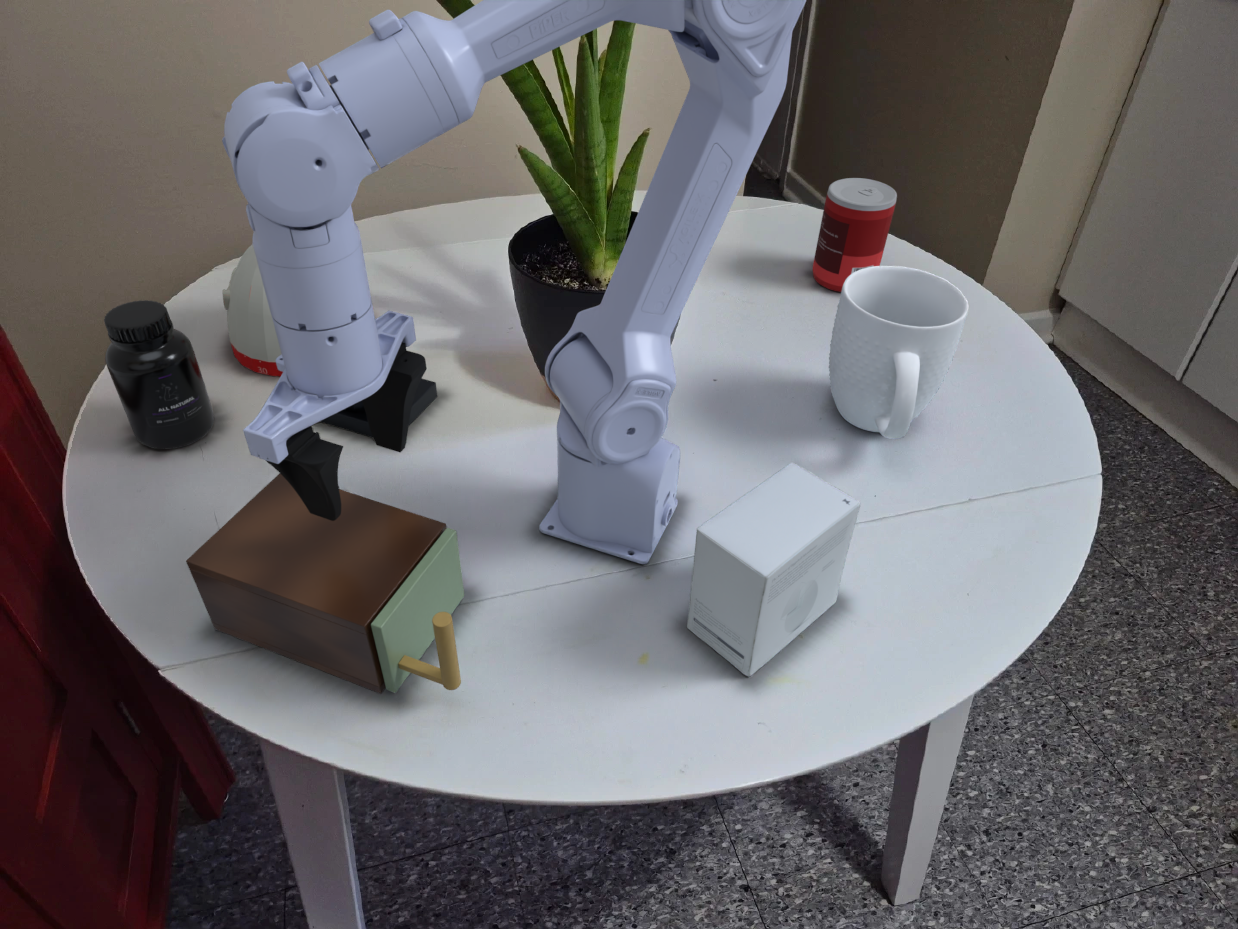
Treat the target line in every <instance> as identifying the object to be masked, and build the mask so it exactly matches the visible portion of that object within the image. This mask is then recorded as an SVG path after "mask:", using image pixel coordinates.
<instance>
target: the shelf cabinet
mask: <svg viewBox="0 0 1238 929" xmlns="http://www.w3.org/2000/svg"><path fill="white" fill-rule="evenodd" d="M339 492H340V498H341V515H340V516H339V517H338V518H337V519H336V520H335V521H331V520H328V519H325V518H323V517H320V516H317V515H314V514H311V513H310V512H309V510H308V509H307V507H306V506H305V504H304V503H303V501H302V500H301V498H300V497H299V495H298V494H297V492H296V491H295V490H294V488H293V487H292V486H291V485H290V483H289V482H288V481H287V480H286V479H285V478H284V477H283V476H282V475H281V474H280V473H279V472H278V474H277V475H276V476H275V477H273V479H272V480H271V481H269V483H268V484H266V485H265V486H264V487H263V488H262V489H261V490H260V491H258V493H257V494H256V495H254V496H253V497H252V499H250V500H249V501H248V502H247V503H246V504H245V505H244V506H243V507H241V508H240V510H238V511H237V512H236V513H235V514H234V515H233V516H232V517H231V518H230V519H229V520H228V521H226V523H224V524H223V525H222V526H221V527H220V528H219V529H218V530H217V531H216V532H215V533H214V534H212V536H211V537H209V538H208V539H207V540H206V541H205V542H204V543H203V544H202V545H201V546H200V547H199V548H197V549H196V550H195V551H194V552H193V553H192V554H191V555H190V556H189V557H188V558H187V559H185V562H186V565H187V568H188V570H189V572H190V575H191V577H192V579H193V582H194V584H195V586H196V588H197V591H198V593H199V596H200V598H201V600H202V603H203V606H204V607H205V609H206V612H207V614H208V617H209V619H210V622H211V624H212V626H213V628H214V630H216V631H219V632H222V633H224V634H227V635H229V636H231V637H234V638H236V639H239V640H241V641H244V642H247V643H250V644H252V645H254V646H257V647H259V648H261V649H265V650H267V651H270V652H272V653H275V654H278V655H280V656H283V657H285V658H288V659H291V660H292V661H296V662H299V663H300V664H303V665H306V666H308V667H311V668H313V669H316V670H319V671H322V672H323V673H326V674H329V675H331V676H334V677H337V678H339V679H342V680H344V681H347V682H349V683H352V684H355V685H357V686H359V687H362V688H365V689H368V690H370V691H373V692H375V693H377V694H380V695H382V693H384V691H385V690H386V686H385V682H384V678H383V674H382V669H381V665H380V661H379V657H378V653H377V649H376V644H375V640H374V636H373V632H372V628H371V623H372V622H373V621H374V620H375V618H376V617H377V616H378V614H379V613H380V612H381V611H382V609H383V608H384V607H385V606H386V604H387V603H388V602H389V600H390V599H391V598H392V597H393V595H394V594H395V593H396V592H397V590H398V589H399V588H400V587H401V585H402V584H403V583H404V581H405V580H406V579H407V578H408V576H409V575H410V574H411V573H412V571H413V570H414V569H415V567H416V566H417V565H418V564H419V562H420V561H421V560H422V559H423V557H424V556H425V555H426V554H427V552H428V551H429V550H430V548H431V547H432V546H433V545H434V543H435V542H436V541H437V540H438V538H439V537H440V536H441V534H442V533H443V532H444V531H445V529H446V528H448V526H447V523H446V522H444V521H440V520H436V519H433V518H430V517H427V516H425V515H421V514H418V513H415V512H411V511H409V510H405V509H402V508H399V507H396V506H393V505H390V504H387V503H384V502H381V501H377V500H375V499H372V498H368V497H366V496H362V495H360V494H356V493H353V492H350V491H347V490H343V489H341V488H339Z"/></svg>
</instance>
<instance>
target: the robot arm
mask: <svg viewBox="0 0 1238 929" xmlns="http://www.w3.org/2000/svg"><path fill="white" fill-rule="evenodd" d="M806 2H807V0H481V1H479V2H477V3H476V4H474V5H473V6H471V7H470V8H468V9H467V10H465V11H464V12H462V13H460V14H459V15H457V16H455V17H454V18H452V19H451V20H445V19H441V18H439V17H436V16H432V15H430V14H427V13H425V12H423V11H419V10H413V11H411V12H409V13H408V14H407V13H406V15H404V16H402V17H400V18H398V16H397V15H396V14H395V13H394V12H393V11H392V10H391V9H386V10H384V11H381V12H380V13H379V14H376V15H375V16H373V17H371V18H370V19H369V20H368V24H369V26H370V28H371V30H372V32H373V33H371V34H369V35H367V36H366V37H364V38H362V39H360V40H358V41H356V42H355V43H353V44H351V45H349V46H347V47H346V48H344V49H342V50H340V51H339V52H337V53H334V54H333V55H331V56H329V57H327V58H325V59H324V60H322V61H320V62H318V64H315V65H313V66H311V67H309V68H308V67H307V65H306V64H305V62H304V61H300V62H298V63H296V64H294V65H293V66H291V67H289V68H288V69H287V70H286V74H287V77H288V79H289V80H290V82H287V81H281V83H276V82H275V81H273V80H272V81H265V82H260V83H257V84H254V85H252V86H249V87H248V88H246V89H245V90H243V91H242V92H241V93H240V94H239V95H238V96H237V97H235V99H234V100H233V101H232V103H231V108H230V109H229V111H227V112H226V116H225V119H224V126H223V127H224V128H223V134H224V136H223V137H222V139H221V142H222V145H223V147H224V148H223V149H224V150H225V152H226V154H227V156H228V158H229V160H230V164H231V167H232V170H233V174H234V177H235V181H236V183H237V186H238V189H239V190H240V191H241V193H242V195H243V196H244V198H245V200H246V201H247V204H246V205H245V213H246V216H247V219H248V220H247V221H248V223H249V227H250V228H251V230H252V231H253V234H252V241H251V242H252V244H253V248H254V251H255V255H256V259H257V263H258V266H259V270H260V274H261V278H262V282H263V286H264V289H265V293H266V297H267V301H268V305H269V308H270V312H271V315H272V319H273V323H274V326H275V331H276V335H277V338H278V342H279V346H280V350H281V355H280V356H279V357H277V359H276V365H277V368H278V370H280V371H282V372H283V373H282V375H281V376H279V378H278V380H277V382H276V384H275V385H274V387H273V389H272V390H271V393H270V394H269V395H268V397H267V398H266V401H265V403H264V404H263V406H262V408H261V409H260V410H259V412H258V414H257V415H256V416H255V418H254V419H253V420H252V421H251V422H249V424H248V425H247V426H245V427H244V428H243V429H242V432H243V436H244V438H245V441H246V445H247V448H248V451H249V453H250V456H252V457H256V458H257V459H258V458H259V459H261V460H263V461H265V462H267V463H268V464H269V465H270V466H271V467H272V468H273V469H275V470H276V471H277V472H278V474H279V473H280V474H281V475H282V476H283V477H284V478H285V479H286V480H287V481H288V482H289V483H290V485H291V486H292V487H293V488H294V490H295V491H296V492H297V494H298V495H299V497H300V498H301V500H302V501H303V503H304V504H305V506H306V507H307V509H308V510H309V512H310V513H311V514H314V515H317V516H320V517H323V518H325V519H328V520H331V521H335V520H336V519H337V518H338V517H339V516H340V515H341V498H340V492H339V489H340V487H339V463H340V457H341V454H342V451H343V448H344V445H341V444H339V443H335V442H332V441H328V440H325V439H323V438H321V435H320V433H319V432H318V431H316V432H315V431H314V429H313V426H314V425H315V424H317V423H320V422H319V421H321V420H323V419H325V418H327V417H329V416H331V415H333V414H335V413H337V412H339V411H341V410H343V409H345V408H347V407H349V406H351V405H353V404H355V403H357V402H359V401H361V400H362V402H363V405H364V408H365V412H366V416H367V420H368V424H369V427H370V431H371V434H372V436H373V438H372V440H373V441H374V443H375V445H376V446H378V447H381V448H384V449H388V450H390V451H393V452H396V453H402V451H403V450H405V448H406V444H407V440H408V434H409V427H410V425H409V419H410V413H411V408H412V404H413V400H414V396H415V394H416V391H417V388H418V385H419V383H420V381H421V379H423V376H424V375H425V373H426V371H427V361H426V358H425V356H424V355H422V354H420V353H417V352H414V351H410V350H407V348H409V347H410V346H412V345H413V344H414V343H415V342H416V341H417V335H416V329H415V328H416V327H415V321H414V317H413V316H412V315H408V314H405V313H400V312H397V311H393V310H387V311H386V312H384V313H383V314H381V315H380V316H378V317H376V318H375V316H376V315H375V312H374V305H373V301H372V296H371V295H372V294H371V289H370V283H369V278H368V271H367V266H366V261H365V260H366V259H365V255H364V249H363V243H362V237H361V232H360V229H359V226H358V224H357V223H356V222H355V218H354V212H353V207H352V204H353V203H354V200H355V199H356V197H357V193H358V191H359V187H360V184H361V182H362V181H363V180H364V179H365V178H366V177H367V176H371V175H372V174H374V173H376V172H378V171H380V169H384V168H385V167H387V166H388V165H390V164H392V163H393V162H396V161H397V160H399V159H401V158H403V157H404V156H406V155H408V154H410V153H411V152H413V151H415V150H417V149H419V148H420V147H422V146H424V145H426V144H428V143H429V142H431V141H433V140H435V139H436V138H438V137H441V136H442V135H443V134H445V133H447V132H449V131H450V130H453V129H454V128H456V127H458V126H459V125H461V124H463V123H465V122H467V121H468V120H470V119H471V118H472V117H473V116H474V113H475V111H476V108H477V104H478V101H479V98H480V97H481V96H480V95H481V92H482V89H483V87H484V85H485V84H486V83H487V82H489V81H492V80H494V79H496V78H498V77H500V76H502V75H504V74H506V73H508V72H510V71H511V70H515V69H516V68H518V67H521V66H523V65H524V64H526V63H529V62H531V61H533V60H534V59H537V58H540V57H541V56H543V55H545V54H547V53H549V52H551V51H553V50H555V49H557V48H559V47H562V46H564V45H566V44H568V43H570V42H571V41H574V40H576V39H577V38H580V37H582V36H584V35H586V34H588V33H590V32H592V31H595V30H597V29H598V28H600V27H602V26H605V25H607V24H609V23H611V22H615V21H622V22H628V23H633V24H637V25H643V26H647V27H652V28H657V29H662V30H667V31H668V32H669V33H670V35H671V38H672V41H673V43H674V46H675V48H676V51H677V53H678V55H679V58H680V60H681V62H682V66H683V68H684V71H685V72H686V75H687V77H688V78H687V79H688V80H689V89H688V91H687V94H686V96H685V99H684V102H683V103H682V106H681V108H680V111H679V114H678V116H677V118H676V120H675V123H674V125H673V128H672V130H671V132H670V135H669V137H668V139H667V142H666V145H665V147H664V150H663V152H662V154H661V157H660V159H659V161H658V164H657V166H656V169H655V171H654V174H653V176H652V179H651V181H650V183H649V186H648V188H647V190H646V193H645V195H644V197H643V200H642V203H641V205H640V207H639V210H638V212H637V215H636V217H635V220H634V222H633V224H632V227H631V229H630V231H629V234H628V235H627V236H628V237H627V239H626V241H625V244H624V247H622V248H623V249H622V251H621V253H620V256H619V258H618V261H617V263H616V265H615V268H614V270H613V273H612V274H611V278H610V280H609V282H608V284H607V287H606V290H605V292H604V295H603V297H602V299H601V302H600V304H598V305H596V306H592V307H588V308H586V309H583V310H581V311H578V312H577V313H576V316H575V319H574V320H573V323H572V325H571V327H570V329H569V330H568V332H567V333H566V334H565V335H564V337H562V338H561V339H560V340H559V341H558V342H557V344H555V346H554V347H553V348H552V350H551V351H550V353H549V354H548V356H547V358H546V361H545V365H544V377H545V381H546V384H547V386H548V387H549V389H550V391H551V392H552V393H553V394H554V395H555V396H556V397H558V399H559V415H558V418H557V422H556V453H557V454H556V458H557V459H556V462H557V463H556V464H557V498H556V499H555V501H554V503H553V504H552V505H551V507H550V508H549V510H548V511H547V513H546V515H545V516H544V517H543V518H542V521H541V522H540V524H539V526H538V528H539V532H540V533H542V534H545V535H548V536H551V537H555V538H557V539H561V540H564V541H567V542H570V543H574V544H577V545H581V546H583V547H585V548H589V549H593V550H595V551H599V552H601V553H605V554H607V555H610V556H615V557H618V558H621V559H623V560H627V561H631V562H633V563H637V564H639V565H640V564H641V565H646V564H648V563H649V562H650V560H651V557H652V556H653V554H654V552H655V550H656V549H657V546H658V544H659V542H660V540H661V538H662V537H663V534H664V532H665V530H666V529H667V527H668V525H669V523H670V521H671V518H672V517H673V515H674V513H675V511H676V509H677V507H678V504H679V500H678V499H677V493H678V483H679V473H680V463H681V448H680V446H679V445H678V444H676V443H673V442H671V441H669V440H668V439H666V438H664V437H663V436H664V434H665V432H666V430H667V426H668V423H669V404H670V400H671V396H672V394H673V392H674V390H675V389H676V386H677V374H676V368H675V362H674V356H673V351H672V344H671V336H672V334H673V333H674V329H676V328H675V327H676V325H677V323H678V321H679V319H680V318H681V315H682V313H683V311H684V308H685V307H686V304H687V302H688V300H689V298H690V296H691V293H692V291H693V289H694V287H695V285H696V282H697V281H698V278H699V276H700V274H701V272H702V270H703V268H704V265H705V263H706V262H707V259H708V257H709V255H710V253H711V251H712V249H713V246H714V245H715V242H716V240H717V237H718V235H719V234H720V231H721V229H722V227H723V225H724V223H725V221H726V219H727V217H728V215H729V212H730V210H731V207H732V206H733V203H734V202H735V200H736V197H737V195H738V193H739V191H740V189H741V186H742V184H743V182H744V180H745V178H746V176H747V174H748V172H749V169H750V167H751V165H752V163H753V161H754V160H755V159H754V158H755V157H756V154H757V153H758V151H759V148H760V146H761V144H762V141H763V139H764V137H765V135H766V133H767V131H768V129H769V126H770V125H771V123H772V121H773V118H774V116H775V114H776V112H777V110H778V108H779V105H780V103H781V101H782V98H783V96H784V93H785V91H786V87H787V83H788V74H789V66H790V65H789V64H790V55H791V49H792V48H791V47H792V37H793V31H794V29H795V26H796V25H797V22H798V20H799V18H800V16H801V13H802V11H803V10H804V7H805V6H806ZM319 67H320V68H319Z"/></svg>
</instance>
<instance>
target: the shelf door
mask: <svg viewBox="0 0 1238 929" xmlns="http://www.w3.org/2000/svg"><path fill="white" fill-rule="evenodd" d="M458 540H459V539H458V533H457V530H456V529H453V528H450V527H447V528H446V529H445V531H444V532H443V533H442V534H441V536H440V537H439V538H438V540H437V541H436V542H435V543H434V545H433V546H432V547H431V548H430V550H429V551H428V552H427V554H426V555H425V556H424V557H423V559H422V560H421V561H420V562H419V564H418V565H417V566H416V567H415V569H414V570H413V571H412V573H411V574H410V575H409V576H408V578H407V579H406V580H405V581H404V583H403V584H402V585H401V587H400V588H399V589H398V590H397V592H396V593H395V594H394V595H393V597H392V598H391V599H390V600H389V602H388V603H387V604H386V606H385V607H384V608H383V609H382V611H381V612H380V613H379V614H378V616H377V617H376V618H375V620H374V621H373V622H372V623H371V628H372V632H373V636H374V640H375V644H376V649H377V653H378V657H379V661H380V665H381V669H382V674H383V678H384V682H385V686H386V688H385V690H386V691H389V692H391V693H394V694H396V693H397V692H398V691H399V690H400V688H401V687H402V685H404V682H405V681H406V680H407V678H408V677H409V676H410V674H412V675H414V676H415V675H416V676H418V677H421V678H423V679H425V680H429V681H430V682H433V683H437V684H439V685H442V686H443V688H444V689H445V690H447V691H455V690H457V689H458V688H460V686H461V684H462V679H461V678H462V677H461V671H460V664H459V657H458V650H457V649H458V648H457V643H456V637H455V636H456V635H455V628H454V622H453V616H452V615H453V613H454V611H455V610H456V609H457V607H458V606H459V604H460V603H461V602H462V600H463V599H464V597H465V589H464V588H465V587H464V580H463V572H462V564H461V556H460V549H459V541H458ZM434 640H435V641H434ZM432 642H435V647H436V652H437V659H438V665H439V666H435V665H433V664H430V663H427V662H425V661H422V660H421V658H422V657H423V656H424V654H425V653H426V652H427V650H428V649H429V647H430V646H431V644H432Z"/></svg>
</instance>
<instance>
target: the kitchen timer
mask: <svg viewBox="0 0 1238 929" xmlns="http://www.w3.org/2000/svg"><path fill="white" fill-rule="evenodd" d="M221 292H222V301H223V303H222V304H223V307H224V309H225V310H226V312H227V313H226V324H227V331H228V336H229V342H230V346H231V349H232V352H233V355H234V358H235V359H236V360H237V361H238V362H239V363H240V365H241V366H243V367H245V368H246V369H249V370H250V371H252V372H254V373H257V374H262V375H267V376H269V377H281V375H282V373H283V372H282V371H280V370H278V368H277V365H276V359H277V357H279V356H280V355H281V350H280V346H279V342H278V338H277V335H276V331H275V326H274V323H273V319H272V315H271V312H270V308H269V305H268V301H267V297H266V293H265V289H264V286H263V282H262V278H261V274H260V270H259V266H258V263H257V259H256V255H255V251H254V248H253V243H252V244H250V245H249V247H247V249H245V251H244V252H243V254H242V255H241V257H240V259H239V261H238V263H237V265H236V267H235V268H234V269H233V270H232V272H231V276H230V280H229V283H228V287H227V288H226V289H222V291H221Z"/></svg>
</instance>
